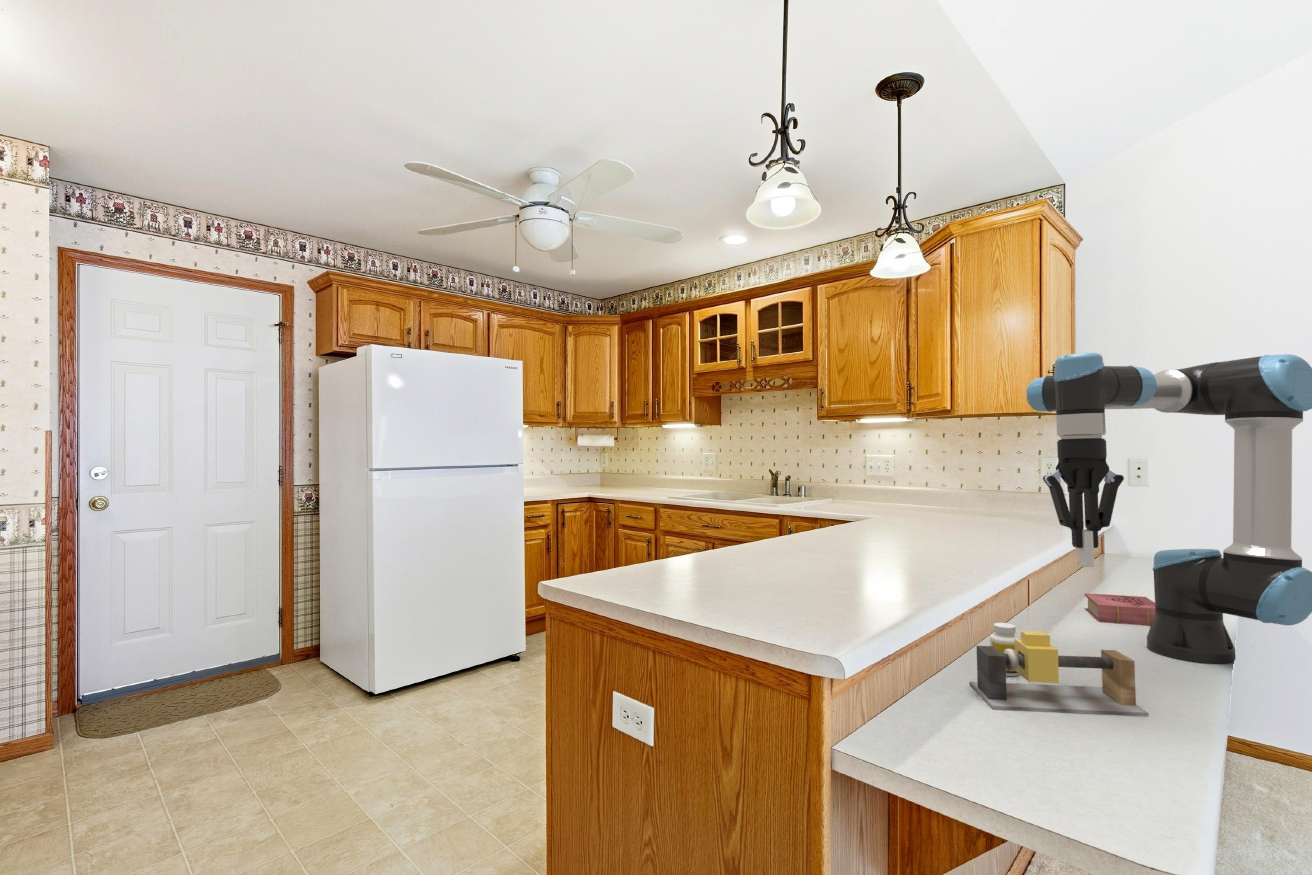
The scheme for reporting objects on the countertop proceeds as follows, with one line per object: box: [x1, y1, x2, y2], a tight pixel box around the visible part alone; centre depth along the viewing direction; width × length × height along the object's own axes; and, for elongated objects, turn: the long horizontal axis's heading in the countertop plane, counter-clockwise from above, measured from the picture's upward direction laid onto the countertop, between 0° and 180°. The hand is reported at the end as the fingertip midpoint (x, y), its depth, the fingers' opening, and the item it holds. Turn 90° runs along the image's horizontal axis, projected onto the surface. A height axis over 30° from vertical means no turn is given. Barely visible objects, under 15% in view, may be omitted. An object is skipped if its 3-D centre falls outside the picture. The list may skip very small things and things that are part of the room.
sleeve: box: [1014, 630, 1060, 684], centre depth 116 cm, size 5×6×8 cm
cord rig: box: [969, 645, 1150, 717], centre depth 115 cm, size 25×12×9 cm, turn 81°
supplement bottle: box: [989, 622, 1021, 677], centre depth 130 cm, size 5×5×10 cm
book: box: [1084, 592, 1155, 627], centre depth 170 cm, size 14×15×5 cm
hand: (1085, 565), depth 115 cm, fingers closed
